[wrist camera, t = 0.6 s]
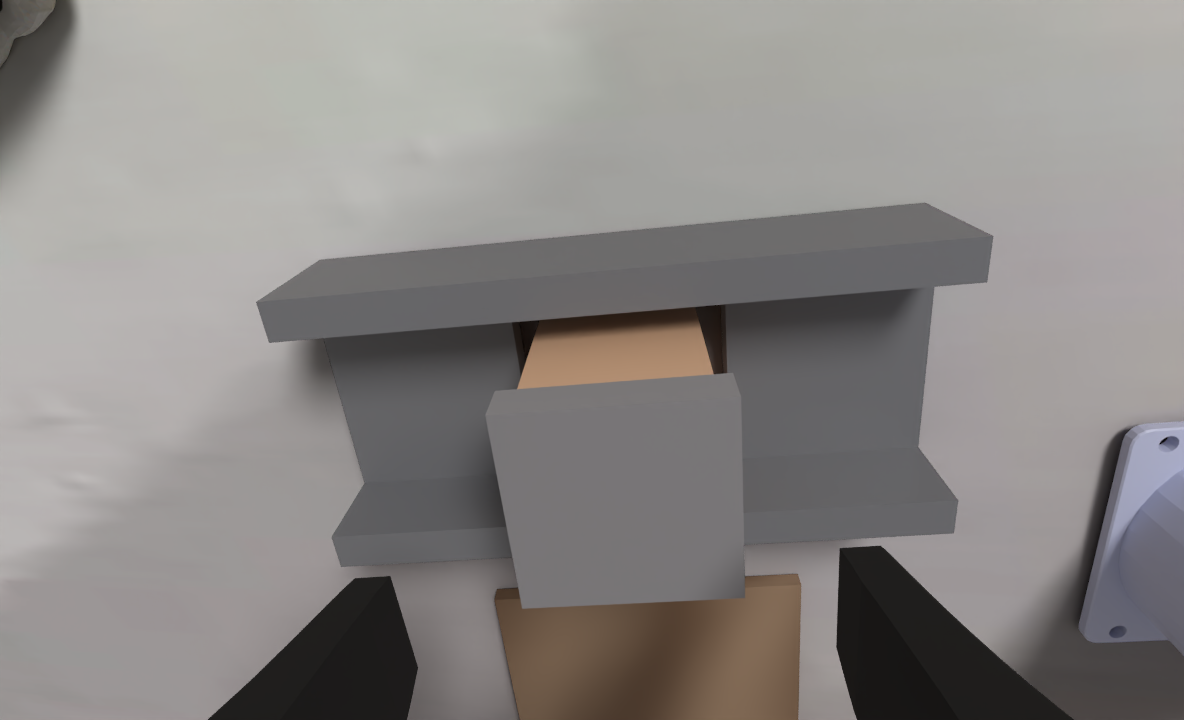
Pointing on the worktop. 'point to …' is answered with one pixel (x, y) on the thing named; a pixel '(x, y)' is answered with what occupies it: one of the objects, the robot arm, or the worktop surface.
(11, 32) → the pastry
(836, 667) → the worktop surface
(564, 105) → the worktop surface
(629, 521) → the plug
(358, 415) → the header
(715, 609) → the walnut pad
